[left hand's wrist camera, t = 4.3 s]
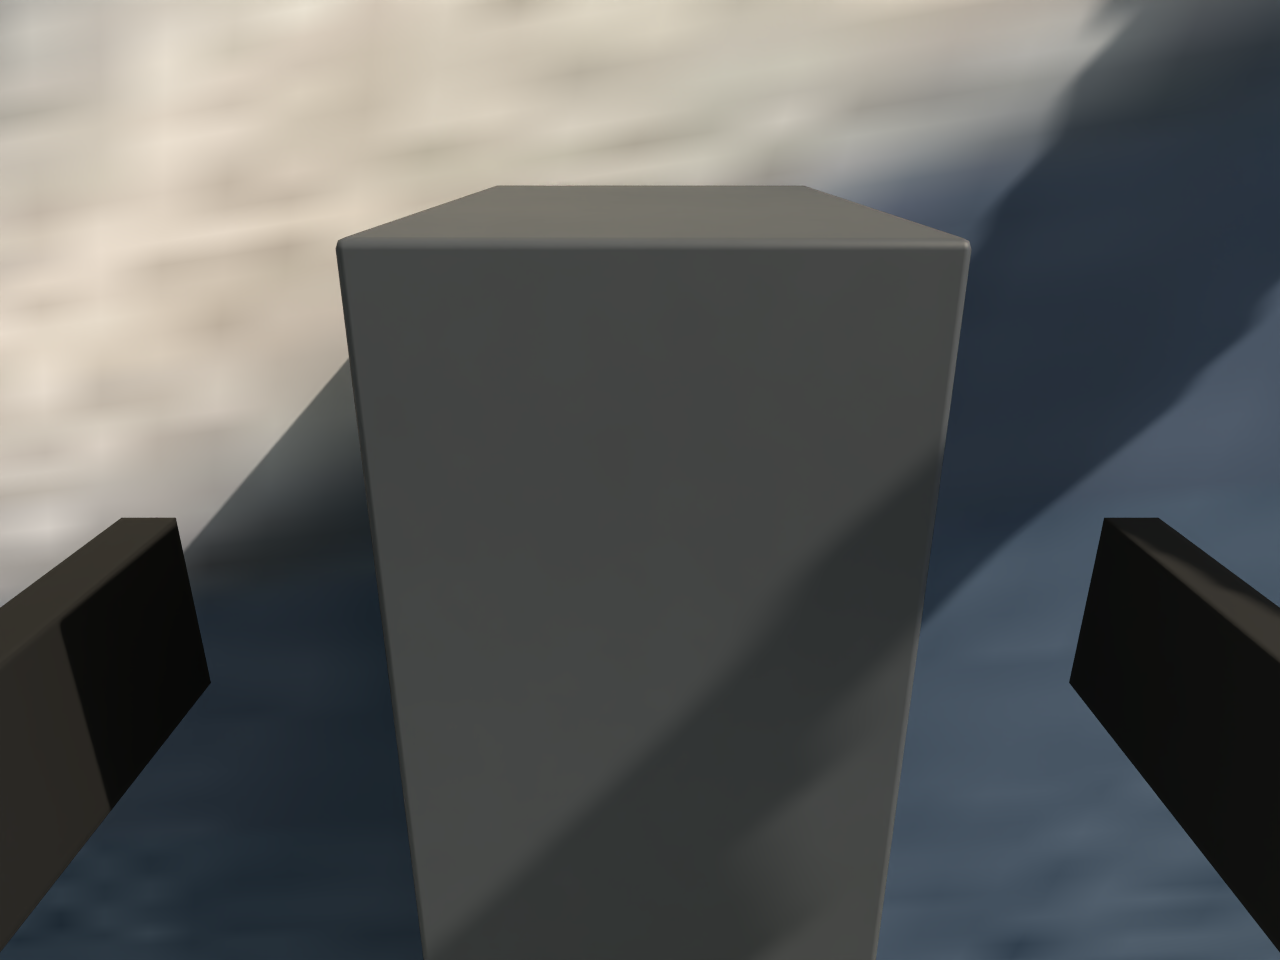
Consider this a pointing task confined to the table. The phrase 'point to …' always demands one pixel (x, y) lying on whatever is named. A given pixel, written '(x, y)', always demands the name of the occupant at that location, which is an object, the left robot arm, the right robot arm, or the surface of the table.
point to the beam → (651, 557)
